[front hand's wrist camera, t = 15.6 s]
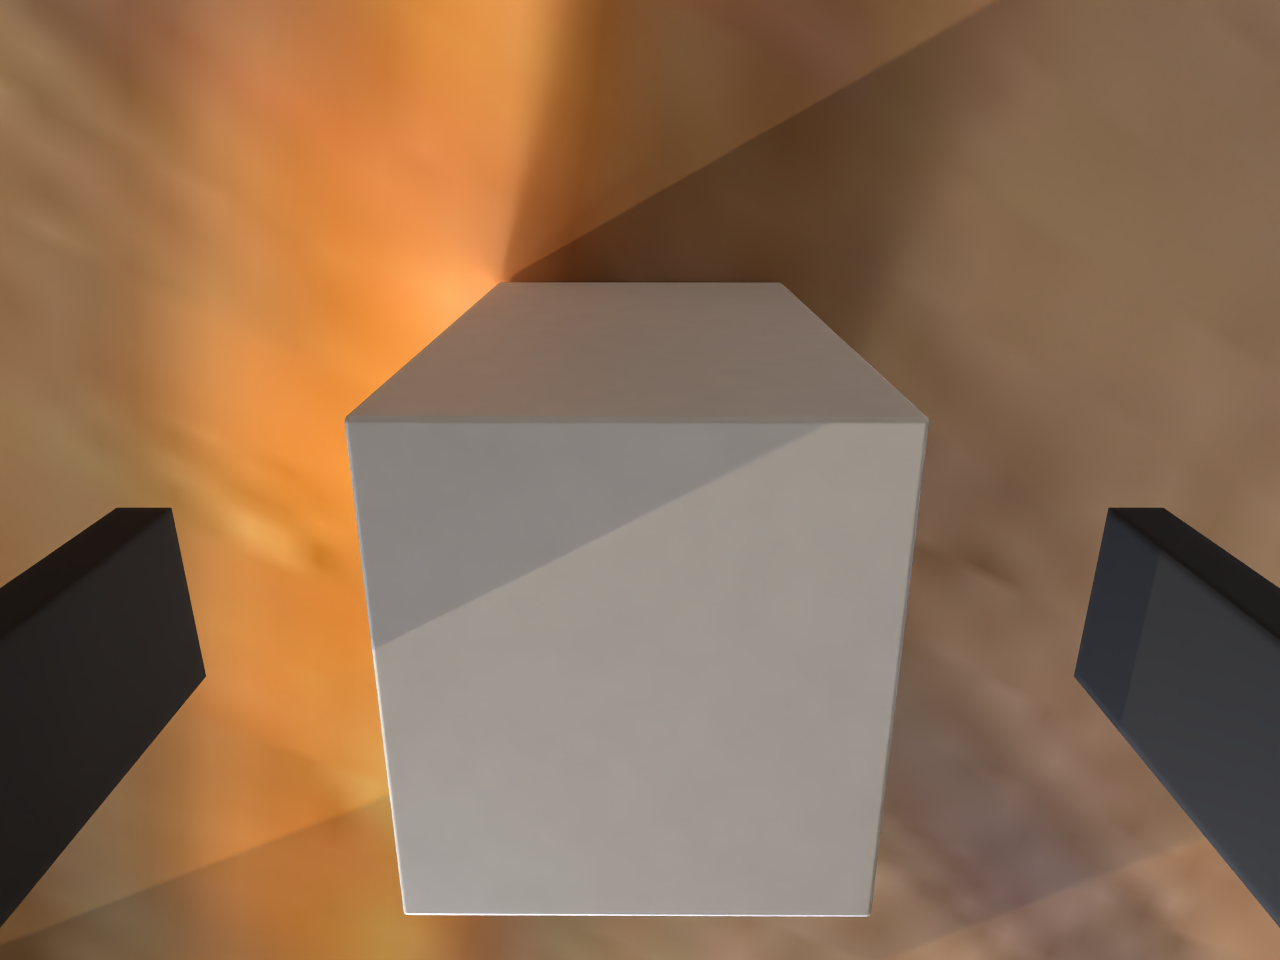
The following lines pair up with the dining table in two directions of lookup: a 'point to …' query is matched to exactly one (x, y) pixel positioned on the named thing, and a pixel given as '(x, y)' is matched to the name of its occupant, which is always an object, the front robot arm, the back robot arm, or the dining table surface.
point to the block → (637, 602)
